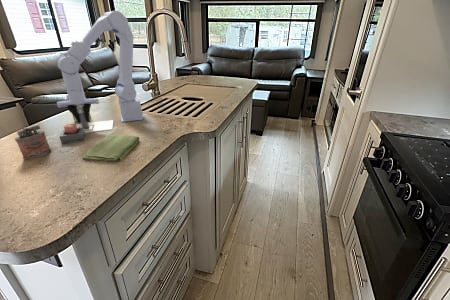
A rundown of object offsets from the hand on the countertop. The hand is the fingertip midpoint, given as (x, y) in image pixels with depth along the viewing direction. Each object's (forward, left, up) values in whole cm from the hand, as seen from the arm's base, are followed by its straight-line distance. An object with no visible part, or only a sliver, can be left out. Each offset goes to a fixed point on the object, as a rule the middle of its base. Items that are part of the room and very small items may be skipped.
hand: (84, 122), depth 100 cm
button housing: (+3, +10, -3) cm, 11 cm away
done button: (+3, +10, 0) cm, 10 cm away
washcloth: (-12, +26, -4) cm, 29 cm away
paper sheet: (-2, -1, -3) cm, 4 cm away
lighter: (+12, +21, -3) cm, 24 cm away
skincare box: (+3, -14, -3) cm, 15 cm away
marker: (0, 0, -3) cm, 3 cm away
